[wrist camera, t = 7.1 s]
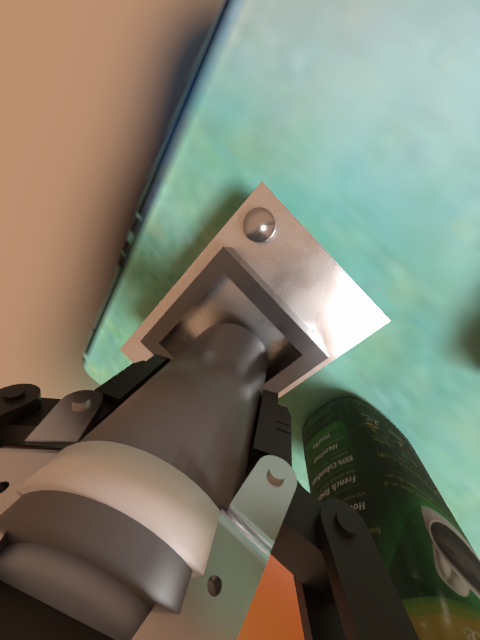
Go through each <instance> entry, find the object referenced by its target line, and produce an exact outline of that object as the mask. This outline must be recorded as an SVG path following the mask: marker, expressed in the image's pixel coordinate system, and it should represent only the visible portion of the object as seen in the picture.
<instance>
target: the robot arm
mask: <svg viewBox="0 0 480 640" xmlns="http://www.w3.org/2000/svg"><path fill="white" fill-rule="evenodd" d="M169 361H171V360H170V358H167V357H164V356H161V355H157V354H155V355H153V356H152V357H151V358H149V359H148V360H147V361H144V360H142V361H139V362H136V363H133V364H131V365H130V366H128V367H127V368H125V370H123V371H121V372H120V373H118V375H115V376H114V377H112V378H111V379H110V380H108V381H107V382H105V383H104V384H102V385H101V386H100V387H98V388H97V389H95V390H94V391H93V390H81V391H76V392H73V393H71V394H69V395H67V396H65V397H64V398H62V399H51V398H41V394H40V388H39V387H37V386H36V385H32V384H17V385H11V386H8V387H4V388H2V389H0V515H1V514H2V513H3V512H4V511H5V510H6V509H8V508H9V507H10V506H11V505H12V504H13V503H14V502H15V501H16V500H18V499H19V498H20V497H21V496H22V495H23V494H22V493H20V492H18V491H16V489H17V488H18V487H19V486H21V485H22V484H23V483H24V482H25V481H26V480H28V479H29V478H30V477H31V476H32V475H33V474H35V473H36V472H37V471H38V470H39V469H40V468H42V467H43V466H44V465H45V464H46V463H47V462H49V461H50V460H51V459H52V458H53V457H54V456H56V455H57V454H58V453H59V452H60V451H61V450H62V449H64V448H65V447H67V446H70V445H72V444H75V443H78V442H80V441H81V440H82V439H83V438H84V437H85V436H86V435H87V434H89V433H90V432H91V431H92V430H93V429H94V428H95V427H96V426H98V425H99V424H100V423H101V422H102V421H103V420H104V419H105V418H107V417H108V416H109V415H110V414H111V413H112V412H113V411H114V410H116V409H117V408H118V407H119V406H120V405H121V404H122V403H123V402H125V401H126V400H127V399H128V398H129V397H130V396H131V395H132V394H134V393H135V392H136V391H137V390H138V389H139V388H140V387H141V386H143V385H144V384H145V383H146V382H147V381H148V380H149V379H150V378H152V377H153V376H154V375H155V374H156V373H157V372H158V371H159V370H161V369H162V368H163V367H164V366H165V365H166V364H167V363H168V362H169ZM220 512H221V515H220V517H219V520H218V524H217V528H216V531H215V535H214V539H213V542H212V546H211V550H210V554H209V557H208V561H207V565H206V569H205V572H204V575H202V574H200V573H198V572H195V571H193V572H192V575H191V578H190V581H189V585H188V588H187V591H186V594H185V598H184V601H183V604H182V607H181V611H180V614H178V613H176V612H174V611H172V610H170V609H168V608H166V607H164V606H162V605H160V604H157V603H156V604H155V606H154V607H153V609H152V610H151V612H150V613H149V615H148V616H147V618H146V619H145V620H144V622H143V623H142V625H141V626H140V628H139V629H138V631H137V632H136V634H135V635H134V636H133V638H132V639H131V640H236V639H237V637H238V634H239V632H240V629H241V627H242V624H243V622H244V619H245V617H246V614H247V612H248V609H249V607H250V604H251V601H252V599H253V597H254V594H255V591H256V589H257V586H258V584H259V581H260V579H261V576H262V574H263V571H264V569H265V566H266V564H267V561H268V559H269V556H270V554H271V555H273V556H274V557H275V558H276V559H277V560H278V561H279V562H280V563H281V564H282V565H283V566H285V567H286V568H287V569H288V570H289V571H290V572H291V573H292V574H293V575H294V581H295V587H296V593H297V598H298V604H299V610H300V615H301V621H302V627H303V632H304V638H305V640H420V639H419V637H418V635H417V633H416V631H415V629H414V627H413V624H412V622H411V620H410V618H409V616H408V614H407V611H406V609H405V607H404V605H403V603H402V601H401V598H400V596H399V594H398V592H397V590H396V588H395V586H394V583H393V581H392V579H391V577H390V575H389V573H388V570H387V568H386V566H385V564H384V562H383V560H382V558H381V555H380V553H379V551H378V549H377V547H376V545H375V542H374V540H373V538H372V536H371V534H370V532H369V530H368V527H367V525H366V524H365V522H364V520H363V519H362V517H361V516H360V515H359V513H358V512H357V511H356V510H355V509H354V508H353V507H351V506H350V505H349V504H347V503H346V502H344V501H342V500H340V499H336V498H330V499H327V500H325V501H324V502H321V501H320V500H319V499H317V498H316V497H314V496H313V495H312V494H310V493H309V492H308V491H306V490H305V489H304V488H303V487H302V486H301V485H300V483H299V482H298V481H297V478H296V475H295V472H294V470H293V469H292V453H291V415H290V413H289V411H288V409H287V408H286V407H283V406H280V405H278V393H275V392H272V391H269V390H266V389H264V390H263V393H262V396H261V401H260V406H259V411H258V416H257V421H256V426H255V431H254V436H253V442H252V447H251V452H250V457H249V462H248V470H247V475H246V480H245V482H244V483H243V485H242V486H241V488H240V489H239V491H238V492H237V494H236V495H235V497H234V498H233V500H232V501H231V504H230V507H229V508H228V509H226V508H225V507H224V508H222V509H221V511H220ZM8 545H9V540H8V535H7V531H6V530H4V529H2V528H0V555H1V554H2V553H3V551H4V550H5V549H6V548H7V546H8ZM209 581H212V582H213V583H214V585H215V588H216V593H217V596H215V597H213V596H211V595H210V594H209V592H208V589H207V585H208V582H209ZM0 640H115V639H113V638H111V637H109V636H107V635H105V634H103V633H101V632H99V631H97V630H95V629H94V628H92V627H90V626H88V625H86V624H84V623H82V622H80V621H78V620H76V619H74V618H72V617H70V616H69V615H67V614H65V613H63V612H61V611H59V610H57V609H55V608H53V607H51V606H49V605H47V604H45V603H44V602H42V601H40V600H38V599H36V598H34V597H32V596H30V595H28V594H26V593H24V592H22V591H20V590H19V589H17V588H15V587H13V586H11V585H9V584H7V583H5V582H3V581H1V580H0Z"/></svg>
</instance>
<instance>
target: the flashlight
mask: <svg viewBox="0 0 480 640" xmlns="http://www.w3.org/2000/svg"><path fill="white" fill-rule="evenodd" d="M267 367H268V358H267V353H266V350H265V348H264V346H263V344H262V343H261V341H260V340H259V339H258V337H257V336H256V335H255V334H253V333H252V332H251V331H249V330H248V329H246V328H244V327H242V326H239V325H236V324H230V323H221V324H216V325H213V326H211V327H209V328H207V329H206V330H204V331H203V332H202V333H201V334H200V335H199V336H198V337H196V338H195V339H194V340H193V341H192V342H191V343H190V344H189V345H187V346H186V347H185V348H184V349H183V350H182V351H181V352H180V353H178V354H177V355H176V356H175V357H174V358H173V359H172V360H171V361H169V362H168V363H167V364H166V365H165V366H164V367H163V368H162V369H161V370H159V371H158V372H157V373H156V374H155V375H154V376H153V377H152V378H150V379H149V380H148V381H147V382H146V383H145V384H144V385H143V386H141V387H140V388H139V389H138V390H137V391H136V392H135V393H134V394H132V395H131V396H130V397H129V398H128V399H127V400H126V401H125V402H123V403H122V404H121V405H120V406H119V407H118V408H117V409H116V410H114V411H113V412H112V413H111V414H110V415H109V416H108V417H107V418H105V419H104V420H103V421H102V422H101V423H100V424H99V425H98V426H96V427H95V428H94V429H93V430H92V431H91V432H90V433H89V434H87V435H86V436H85V437H84V438H83V439H82V440H81V441H80V442H78V443H75V444H72V445H70V446H67V447H65V448H64V449H62V450H61V451H60V452H59V453H58V454H57V455H56V456H54V457H53V458H52V459H51V460H50V461H49V462H47V463H46V464H45V465H44V466H43V467H42V468H40V469H39V470H38V471H37V472H36V473H35V474H33V475H32V476H31V477H30V478H29V479H28V480H26V481H25V482H24V483H23V484H22V485H21V486H19V487H18V488H17V489H16V491H18V492H20V493H22V494H23V495H22V496H21V497H20V498H19V499H18V500H16V501H15V502H14V503H13V504H12V505H11V506H10V507H9V508H8V509H6V510H5V511H4V512H3V513H2V514H1V515H0V528H2V529H4V530H6V531H7V535H8V540H9V545H8V546H7V548H6V549H5V550H4V551H3V553H2V554H1V555H0V580H1V581H3V582H5V583H7V584H9V585H11V586H13V587H15V588H17V589H19V590H20V591H22V592H24V593H26V594H28V595H30V596H32V597H34V598H36V599H38V600H40V601H42V602H44V603H45V604H47V605H49V606H51V607H53V608H55V609H57V610H59V611H61V612H63V613H65V614H67V615H69V616H70V617H72V618H74V619H76V620H78V621H80V622H82V623H84V624H86V625H88V626H90V627H92V628H94V629H95V630H97V631H99V632H101V633H103V634H105V635H107V636H109V637H111V638H113V639H115V640H131V639H132V638H133V636H134V635H135V634H136V632H137V631H138V629H139V628H140V626H141V625H142V623H143V622H144V620H145V619H146V618H147V616H148V615H149V613H150V612H151V610H152V609H153V607H154V606H155V604H156V603H157V604H160V605H162V606H164V607H166V608H168V609H170V610H172V611H174V612H176V613H178V614H180V611H181V607H182V604H183V601H184V598H185V594H186V591H187V588H188V585H189V581H190V578H191V575H192V572H193V571H195V572H198V573H200V574H202V575H204V572H205V569H206V565H207V561H208V557H209V554H210V550H211V546H212V542H213V539H214V535H215V531H216V528H217V524H218V520H219V517H220V515H221V512H220V511H221V509H222V508H224V507H225V508H226V509H228V508H229V507H230V504H231V501H232V500H233V498H234V497H235V495H236V494H237V492H238V491H239V489H240V488H241V486H242V485H243V483H244V482H245V480H246V475H247V470H248V462H249V457H250V452H251V447H252V442H253V436H254V431H255V426H256V421H257V416H258V411H259V406H260V401H261V396H262V393H263V388H264V383H265V377H266V372H267ZM207 589H208V592H209V594H210V595H211V596H213V597H215V596H217V593H216V588H215V585H214V583H213V582H212V581H209V582H208V585H207Z"/></svg>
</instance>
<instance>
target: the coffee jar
mask: <svg viewBox="0 0 480 640" xmlns="http://www.w3.org/2000/svg"><path fill="white" fill-rule="evenodd" d="M302 434H303V445H304V454H305V461H306V468H307V473H308V480H309V486H310V493H311V494H312V495H313V496H314V497H316V498H317V499H319V500H320V501H321V502H324V501H325V500H327V499H330V498H336V499H340V500H342V501H344V502H346V503H347V504H349V505H350V506H351V507H353V508H354V509H355V510H356V511H357V512H358V513H359V515H360V516H361V517H362V519H363V520H364V522H365V524H366V525H367V527H368V530H369V532H370V534H371V536H372V538H373V540H374V542H375V545H376V547H377V549H378V551H379V553H380V555H381V558H382V560H383V562H384V564H385V566H386V568H387V570H388V573H389V575H390V577H391V579H392V581H393V583H394V586H395V588H396V590H397V592H398V594H399V596H400V598H401V601H402V603H403V605H404V607H405V609H406V611H407V614H408V616H409V618H410V620H411V622H412V624H413V627H414V629H415V631H416V633H417V635H418V637H419V639H420V640H480V560H479V558H478V557H477V555H476V553H475V552H474V550H473V548H472V547H471V545H470V543H469V542H468V540H467V538H466V536H465V535H464V533H463V532H462V530H461V528H460V527H459V525H458V523H457V522H456V520H455V518H454V516H453V515H452V513H451V511H450V510H449V508H448V507H447V505H446V503H445V501H444V500H443V498H442V496H441V495H440V493H439V491H438V490H437V488H436V486H435V484H434V483H433V481H432V479H431V478H430V476H429V474H428V472H427V471H426V469H425V467H424V465H423V464H422V462H421V460H420V459H419V457H418V455H417V454H416V452H415V450H414V449H413V447H412V446H411V444H410V442H409V441H408V439H407V438H406V437H405V436H404V435H403V434H402V433H401V432H400V431H399V430H398V428H396V427H395V426H394V425H393V424H392V423H391V422H390V421H389V420H388V419H386V418H385V417H384V416H383V415H381V414H380V413H379V412H378V411H376V410H375V409H373V408H372V407H370V406H369V405H367V404H365V403H364V402H362V401H360V400H357V399H353V398H340V399H336V400H333V401H331V402H329V403H327V404H325V405H324V406H322V407H321V408H319V409H318V410H317V411H316V412H314V413H313V414H312V415H311V416H310V417H309V419H308V420H307V421H306V422H305V424H304V427H303V431H302Z"/></svg>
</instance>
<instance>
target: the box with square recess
mask: <svg viewBox="0 0 480 640" xmlns="http://www.w3.org/2000/svg"><path fill="white" fill-rule="evenodd" d="M389 321H390V320H389V319H388V318H387V317H386V316H385V315H384V314H383V313H382V311H381V310H380V309H379V308H378V307H377V306H376V305H375V304H374V303H373V302H372V301H371V300H370V298H369V297H368V296H367V295H366V294H365V293H364V292H363V291H362V290H361V289H360V288H359V287H358V285H357V284H356V283H355V282H354V281H353V280H352V279H351V278H350V277H349V276H348V275H347V273H346V272H345V271H344V270H343V269H342V268H341V267H340V266H339V265H338V264H337V263H336V262H335V260H334V259H333V258H332V257H331V256H330V255H329V254H328V253H327V252H326V251H325V250H324V249H323V247H322V246H321V245H320V244H319V243H318V242H317V241H316V240H315V239H314V238H313V237H312V235H311V234H310V233H309V232H308V231H307V230H306V229H305V228H304V227H303V226H302V225H301V224H300V222H299V221H298V220H297V219H296V218H295V217H294V216H293V215H292V214H291V213H290V212H289V211H288V209H287V208H286V207H285V206H284V205H283V204H282V203H281V202H280V201H279V200H278V199H277V198H276V196H275V195H274V194H273V193H272V192H271V191H270V190H269V189H268V188H267V187H266V186H265V184H264V183H263V182H261V183H260V184H259V185H258V186H257V188H256V189H255V190H254V191H253V192H252V193H251V195H250V196H249V197H248V198H247V199H246V201H245V202H244V203H243V204H242V205H241V206H240V208H239V209H238V210H237V211H236V212H235V214H234V215H233V216H232V217H231V218H230V220H229V221H228V222H227V223H226V224H225V225H224V227H223V228H222V229H221V230H220V231H219V233H218V234H217V235H216V236H215V237H214V239H213V240H212V241H211V242H210V243H209V244H208V246H207V247H206V248H205V249H204V250H203V252H202V253H201V254H200V255H199V256H198V258H197V259H196V260H195V261H194V262H193V263H192V265H191V266H190V267H189V268H188V269H187V271H186V272H185V273H184V274H183V275H182V277H181V278H180V279H179V280H178V281H177V282H176V284H175V285H174V286H173V287H172V288H171V290H170V291H169V292H168V293H167V294H166V296H165V297H164V298H163V299H162V300H161V301H160V303H159V304H158V305H157V306H156V307H155V309H154V310H153V311H152V312H151V313H150V314H149V316H148V317H147V318H146V319H145V320H144V322H143V323H142V324H141V325H140V326H139V328H138V329H137V330H136V331H135V332H134V333H133V335H132V336H131V337H130V338H129V339H128V341H127V342H126V343H125V344H124V345H123V347H122V348H121V349H120V350H121V351H122V352H123V353H124V354H125V355H126V356H127V357H128V358H129V359H130V360H131V361H132V362H133V363H136V362H139V361H142V360H144V361H147V360H148V359H149V358H151V357H152V356H153V355H155V354H157V355H161V356H164V357H167V358H170V360H172V359H173V358H174V357H175V356H176V355H177V354H178V353H180V352H181V351H182V350H183V349H184V348H185V347H186V346H187V345H189V344H190V343H191V342H192V341H193V340H194V339H195V338H196V337H198V336H199V335H200V334H201V333H202V332H203V331H204V330H206V329H207V328H209V327H211V326H213V325H216V324H221V323H230V324H236V325H239V326H242V327H244V328H246V329H248V330H249V331H251V332H252V333H253V334H255V335H256V336H257V337H258V339H259V340H260V341H261V343H262V344H263V346H264V348H265V350H266V353H267V358H268V367H267V372H266V377H265V383H264V388H263V390H264V389H266V390H269V391H272V392H275V393H278V399H279V398H280V397H281V396H283V395H284V394H286V393H287V392H289V391H290V390H291V389H293V388H294V387H296V386H297V385H299V384H300V383H301V382H303V381H304V380H306V379H307V378H309V377H310V376H312V375H313V374H314V373H316V372H317V371H319V370H320V369H322V368H323V367H324V366H326V365H327V364H329V363H330V362H332V361H333V360H335V359H336V358H337V357H339V356H340V355H342V354H343V353H345V352H346V351H347V350H349V349H350V348H352V347H353V346H355V345H356V344H358V343H359V342H360V341H362V340H363V339H365V338H366V337H368V336H369V335H370V334H372V333H373V332H375V331H376V330H378V329H379V328H381V327H382V326H383V325H385V324H386V323H388V322H389Z"/></svg>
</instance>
